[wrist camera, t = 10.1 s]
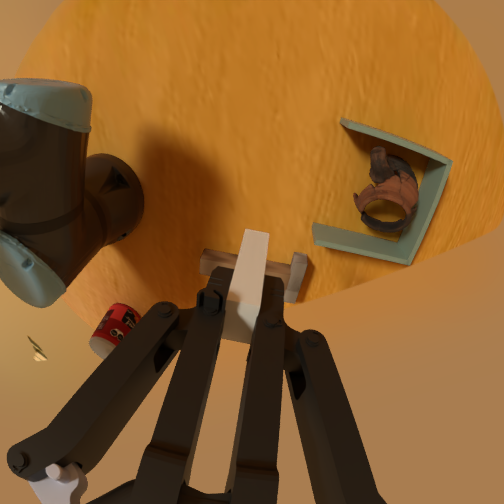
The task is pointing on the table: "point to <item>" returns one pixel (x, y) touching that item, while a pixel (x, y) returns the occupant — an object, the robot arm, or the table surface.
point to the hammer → (286, 272)
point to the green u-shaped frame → (425, 208)
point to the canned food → (113, 329)
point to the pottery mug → (389, 189)
